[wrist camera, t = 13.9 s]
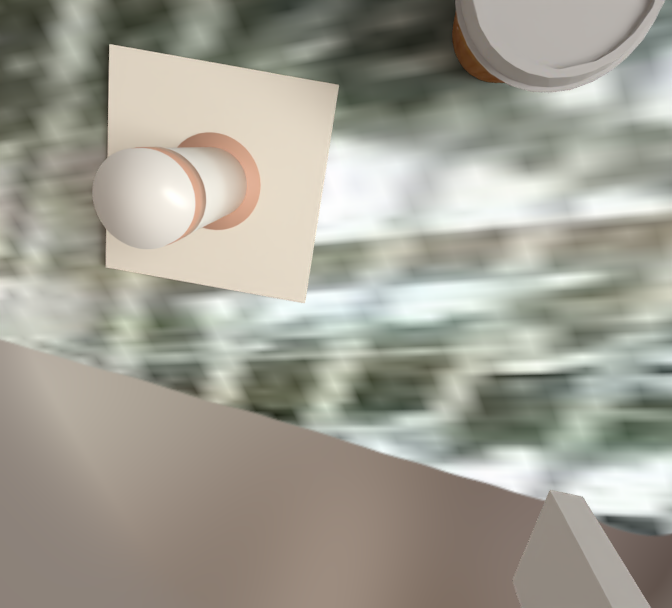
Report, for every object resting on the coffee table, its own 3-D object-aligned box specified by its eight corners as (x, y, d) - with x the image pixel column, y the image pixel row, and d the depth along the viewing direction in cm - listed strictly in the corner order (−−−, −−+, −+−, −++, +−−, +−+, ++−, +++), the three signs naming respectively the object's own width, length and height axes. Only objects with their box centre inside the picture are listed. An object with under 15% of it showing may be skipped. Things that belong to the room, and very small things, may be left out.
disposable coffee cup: (416, -31, 31) (443, -130, 20) (568, -73, 30) (690, -205, 19) (439, 122, 34) (475, 111, 23) (580, 89, 33) (691, 60, 22)
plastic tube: (181, 140, 35) (91, 138, 24) (251, 153, 35) (194, 157, 24) (177, 210, 37) (91, 240, 25) (243, 222, 37) (187, 258, 25)
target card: (113, 45, 34) (108, 43, 33) (339, 85, 34) (338, 84, 33) (109, 265, 39) (105, 267, 38) (305, 300, 39) (304, 303, 38)
